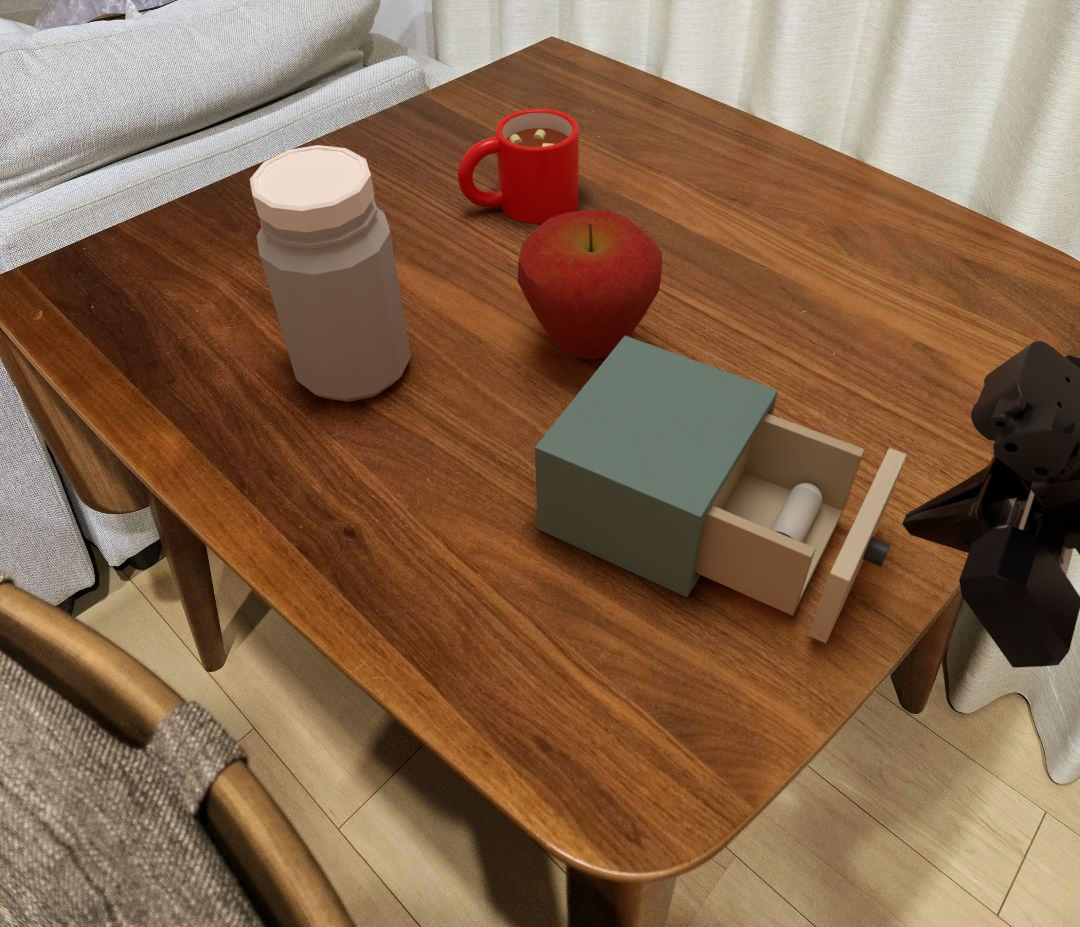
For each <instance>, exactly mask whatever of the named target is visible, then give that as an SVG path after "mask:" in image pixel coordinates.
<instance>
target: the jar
mask: <svg viewBox="0 0 1080 927" xmlns="http://www.w3.org/2000/svg"><path fill="white" fill-rule="evenodd" d="M249 183H250V189H251V194H252V199H253V202H254V206H255V209H256V213H257V216H258V218H259V222H260V227H261V228H260V229H259V230H258V233H257V235H256V242H257V248H258V254H259V255H258V256H259V258H260V262H261V265H262V268H263V272H264V277H265V279H266V283H267V286H268V290H269V292H270V295H271V296H270V297H271V300H272V303H273V305H274V309H275V312H276V316H277V320H278V323H279V326H280V330H281V332H282V336H283V340H284V343H285V345H286V349H287V350H286V351H287V353H288V356H289V360H290V364H291V368H292V370H293V374H294V377H295V380H296V381H297V382H298V383H299V384H301V386H303V387H304V388H306V389H308V390H309V392H311V393H313V394H314V395H315V396H318V397H320V398H323V399H327V400H334V401H340V402H347V403H351V402H356V401H360V400H364V399H370V398H373V397H376V396H378V395H379V394H381V393H382V392H384V391H385V390H387V389H388V388H390V387H391V386H392V385H394V384H396V383H397V381H398V380H399V379H400V378H402V375H403V373H404V372H405V369H406V367H407V365H408V364H409V361H410V359H411V357H412V352H411V347H410V340H409V336H408V329H407V324H406V318H405V317H406V316H405V311H404V305H403V299H402V293H401V287H400V280H399V274H398V269H397V264H396V263H397V262H396V258H395V250H394V246H393V240H392V234H391V229H390V226H389V222H388V220H387V216H386V214H385V212H384V211H382V210H381V209H380V208H379V207H378V206H377V204H376V201H375V191H374V186H373V180H372V174H371V171H370V168H369V165H368V161H367V159H366V158H365V157H363V156H361V155H359V154H357V153H356V152H354V151H352V150H350V149H349V148H345V147H339V146H330V145H320V144H317V145H310V146H304V147H298V148H292V149H288V150H286V151H284V152H282V153H279V154H277V155H275V156H273V157H271V158H269V159H267V160H265V161H263V162H262V164H260V166H259V167H258V168H257V169H256V171H255V172H254V173H253V174H252V176H251V177H250V178H249Z"/></svg>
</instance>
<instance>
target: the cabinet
mask: <svg viewBox="0 0 1080 927" xmlns="http://www.w3.org/2000/svg"><path fill="white" fill-rule="evenodd" d="M778 393H779V390H778V389H776V388H773V387H770V386H768V385H765V384H762V383H759V382H756V381H754V380H751V379H749V378H745V377H742V376H739V375H737V374H734V373H731V372H729V371H727V370H726V371H725V370H723V369H721V368H717V367H715V366H711V365H709V364H706V363H703V362H700V361H697V360H694V359H692V358H689V357H687V356H683V355H680V354H679V353H676V352H672V351H670V350H667V349H664V348H661V347H658V346H656V345H653V344H650V343H647V342H644V341H641V340H639V339H636V338H634V337H631V336H630V337H628V336H624V337H623V339H622V340H621V341H620V342H619V343H618V345H617V346H616V347H615V348H614V350H613V351H612V352H611V353H610V355H609V356H608V357H605V359H604V361H603V362H602V363H601V365H599V367H598V368H597V370H596V371H595V372H594V373H593V374H592V376H591V377H590V378H589V379H588V380H587V381H586V382H585V384H584V385H583V387H582V388H581V389H580V390H579V391H578V392H577V394H576V395H575V397H574V398H573V399H572V400H571V402H570V403H569V404H568V405H567V407H566V408H565V409H564V410H563V412H562V413H561V414H560V415H559V416H558V418H557V419H556V420H555V421H554V423H553V424H552V425H551V426H550V428H549V429H548V430H547V431H546V433H545V434H544V435H543V436H542V437H541V439H540V440H539V441H538V443H537V444H535V446H534V464H535V488H536V489H535V490H536V491H535V492H536V493H535V494H536V512H537V513H536V516H537V530H538V531H540V532H543V533H544V534H547V535H550V536H552V537H553V538H556V539H558V540H560V541H562V542H564V543H567V544H569V545H571V546H573V547H575V548H578V549H580V550H582V551H584V552H586V553H589V554H591V555H593V556H595V557H597V558H599V559H602V560H604V561H606V562H609V563H610V564H613V565H615V566H617V567H619V568H621V569H624V570H626V571H629V572H630V573H633V574H635V575H636V576H639V577H641V578H643V579H646V580H648V581H650V582H652V583H654V584H657V585H659V586H661V587H663V588H665V589H667V590H670V591H672V592H674V593H676V594H679V595H680V596H683V597H685V598H688V597H689V596H690V594H691V593H692V591H693V589H694V587H695V586H696V584H697V582H698V581H699V579H700V577H701V575H700V574H698V573H695V570H696V564H697V558H698V553H699V547H700V541H701V535H702V529H703V523H704V517H705V515H706V513H707V512H708V510H709V508H710V507H711V505H712V504H713V502H714V500H715V499H716V497H717V495H718V494H719V492H720V490H721V489H722V487H723V485H724V484H725V482H726V480H727V479H728V477H729V476H730V474H731V472H732V471H733V469H734V467H735V466H736V464H737V462H738V461H739V459H740V457H741V456H742V454H743V452H744V451H745V449H746V448H747V446H748V444H749V443H750V441H751V439H752V438H753V436H754V434H755V433H756V431H757V429H758V428H759V426H760V424H761V423H762V421H763V420H764V418H765V416H766V415H767V413H768V414H771V415H773V416H774V411H775V407H776V402H777V398H778Z"/></svg>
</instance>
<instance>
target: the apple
mask: <svg viewBox="0 0 1080 927" xmlns="http://www.w3.org/2000/svg"><path fill="white" fill-rule="evenodd" d="M517 260H518V262H517V263H518V265H517V284H518V285H519V288H520V289H521V291H522V294H523V295H524V297H525V300H526V302H527V303H528V306H529V307H530V310H531V311H532V312H533V314H534V316H535V317H536V319H537V321H538V323H539V324H540V325H541V327H542V328H543V330H544V331H545V333H546V334H547V335H548V337H549V339H550V340H551V342H552V344H554V345H555V346H556V347H557V348H558V349H559V350H560V351H562V352H563V353H564V354H567V355H570V356H572V357H574V358H578V359H585V360H597V359H602V358H607V357H608V356H609V355H610V353H611V352H612V351H613V350H614V348H615V347H616V346H617V345H618V343H619V342H620V341H621V340H622V339H623V337H624V336H628V337H630V338H631V336H632V334H633V333H634V331H635V330H636V329H637V328H638V326H639V324H640V323H641V322H642V320H643V319H644V317H645V316H646V314H647V313H648V310H649V309H650V307H651V305H653V304H652V303H653V302H654V300H655V299H656V297H657V296H658V294H659V292H660V288H661V280H662V274H663V252H662V250H661V249H660V247H659V246H658V245H657V243H656V242H655V241H654V240H653V238H652V237H651V236H649V235H648V234H647V233H646V232H645V231H644V230H643V229H642V228H641V227H639V226H638V225H637V224H635V223H634V222H633V221H631V219H629V218H628V217H626V216H624V215H621V214H618V213H615V212H613V211H611V210H607V209H606V210H605V209H604V210H603V209H601V210H600V209H584V210H574V211H573V212H567V213H563V214H560V215H558V216H555V217H552V218H550V219H547V220H546V221H545V222H544V223H540V224H539V225H538V227H536V228H535V230H534V231H532V232H531V233H530V234H529V236H528V237H526V239H525V240H524V241H523V242H522V243H521V248H520V252H519V256H518V259H517Z"/></svg>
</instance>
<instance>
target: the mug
mask: <svg viewBox="0 0 1080 927" xmlns="http://www.w3.org/2000/svg"><path fill="white" fill-rule="evenodd" d="M493 154H496V156H497V172H498V188H499V189H498V190H495V191H483V190H481V189H479V188H478V187H477V186H476V185H475V182H474V179H473V178H474V177H473V175H474V173H475V169H476V167H477V166H478V164H479V163H480V162H481V161H483V159H484V158H486V157H488V156H489V155H493ZM579 154H580V129H579V124H578V122H577V120H575V119H574V118H573V117H572V116H570V114H567V113H565V112H562V111H559V110H556V109H552V108H551V109H550V108H528V109H522V110H519V111H516V112H513V113H509V114H508V115H506V116H505V117H504V118H502V119H500V121H499V122H498V124H496V128H495V136H492V137H487V138H484V139H482V140H480V141H478V142H476V143H475V144H473V145H472V146H471V147H470V148H469V149H468V150H467V151H466V152H465V154H464V155H463V157H462V159H461V160H460V163H459V165H458V170H457V182H458V187H459V190H460V191H461V194H462V195H463V196H464V198H465V199H466V200H468V201H469V202H470V203H472V204H474V205H476V206H479V207H483V208H495V207H496V208H497V207H501V210H502V211H503V213H504V214H505V215H507V216H508V217H509V218H511V219H513V220H514V221H515V220H516V221H519V222H522V223H526V224H539V225H541V224H542V223H544V222H545V221H546V220H547V219H550V218H552V217H555V216H558V215H560V214H563V213H567V212H575V211H576V209H577V207H578V205H579V186H580V184H579V179H580V178H579V176H580V175H579V174H580V173H579V172H580V171H579V170H580V167H579V166H580V165H579V164H580V160H579V159H580V158H579V157H580V155H579Z"/></svg>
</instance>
